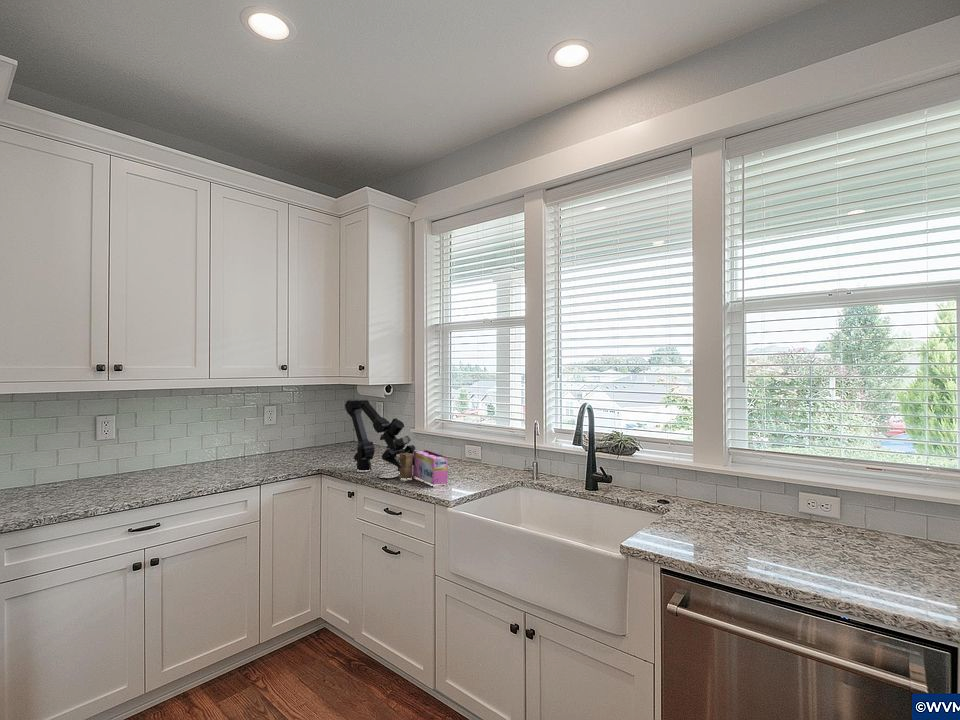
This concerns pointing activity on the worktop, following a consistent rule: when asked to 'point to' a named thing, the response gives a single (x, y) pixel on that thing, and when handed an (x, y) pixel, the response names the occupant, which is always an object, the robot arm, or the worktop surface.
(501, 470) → the worktop surface
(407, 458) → the walnut block
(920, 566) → the worktop surface
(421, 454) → the gum box
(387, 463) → the bronze balance
